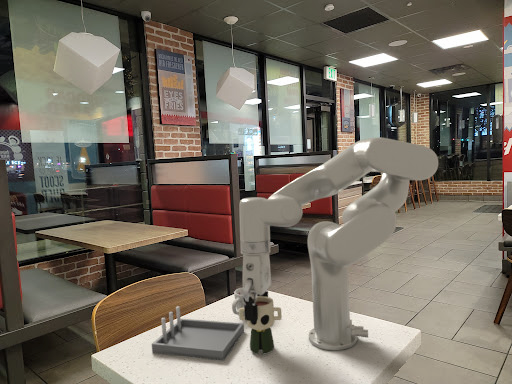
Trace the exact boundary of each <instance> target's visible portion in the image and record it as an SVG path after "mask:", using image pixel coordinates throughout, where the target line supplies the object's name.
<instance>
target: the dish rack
mask: <svg viewBox="0 0 512 384" xmlns="http://www.w3.org/2000/svg"><path fill="white" fill-rule="evenodd" d="M175 311H176V312H175V313H176V322H175V323H174V313H173V311H169V312H168V318H169V328H168V330H167V324H166V323H167V322H166V317H161V329H162V330H161V332H162V335H160V336H158V338H157V339H156V340H154V341H153V342H152V343H151V352H152V354H156V355H166V356H172V357H173V356H174V357H184V358H192V359H203V360H211V361H220V362H223V361H225V359H226V358H227V356H228V355H229V354H230V352H231V351H232V350H233V348H234V347H235V345H237V343H238V341H239V339H241V337H242V336H243V334H244V332H245V325H244V323H242V322H229V321H219V320H218V321H214V320H204V319H203V320H202V319H190V318H181V307H180V306H179V305H178V306H176V307H175Z"/></svg>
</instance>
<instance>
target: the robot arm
mask: <svg viewBox="0 0 512 384" xmlns="http://www.w3.org/2000/svg"><path fill="white" fill-rule="evenodd" d="M438 167H439V158H438V155H437V154H436V153H435V151H433V149H431V148H429V147H428V146H425V145H422V144H421V145H420V144H416V143H410V142H405V141H403V140H402V141H401V140H396V139H392V138H386V137H380V136H379V137H371V138H364V139H360V140H358V141H355V142H354V143H353V144H351V145H349V146H348V147H347V148H345V149H344V150H342V151H340V152H339V153H337V154H336V155H335V156H333V157H332V158H330V159H329V160H327V161H326V162H324V163H323V164H320V165H319V166H317V167H316V168H314V169H312V170H310V171H309V172H307V173H305V174H304V175H301V176H299V177H297V178H296V179H294V180H293V181H291V182H289V183H287V184H286V185H284V186H283V187H282V188H280V189H278V190H277V191H276V192H274V193H273V194H271V195H270V196H269V197H268V198H265V197H255V196H254V197H245V198H242V199H240V201H239V204H238V205H239V208H238V209H239V236H240V237H239V239H240V240H239V242H240V246H239V247H240V254H241V255H242V258H243V259H242V288H243V296H244V298H243V299H244V312H245V320H244V321H246V322H247V321H257V320H258V305H256V301H257V297H258V296H265V297H269V288H270V287H271V285H272V277H271V276H272V273H271V261H270V253H271V229H270V228H271V227H272V226H273V227H283V228H284V227H285V228H286V227H287V228H288V227H292V226H295V225H297V224H298V223H299V222H300V221H301V219H302V217H303V213H304V211H303V207H304V206H305V205H307V204H309V203H312V202H313V201H317V200H321V199H323V198H324V199H325V198H329V197H330V198H331V197H332V196H334V195H338V194H340V193H341V192H343V191H344V190H345V189H347V188H349V187H350V186H352V185H353V184H354V183H355V182H357V181H358V180H360V179H361V178H363V177H365V176H366V175H367V174H370V172H371V173H374V172H375V173H382V174H381V178H380V181H379V182H378V184H376V185H375V186H374V187H372V188H371V189H370V190H369V191H367V192H366V193H364V194H363V195H362V196H360V197H358V198H357V199H356V200H355V201H352V202H350V204H348V206H346V207H345V209H344V211H343V213H342V217H341V220H342V223H343V224H342V225H341V224H339V223H335V222H333V221H330V220H329V221H327V220H326V221H325V220H324V221H319V222H318V223H315V224H314V225H312V227H311V228H310V230H309V231H308V234H307V235H308V236H307V249H308V254H309V255H308V256H309V260H310V261H309V262H310V268H311V269H310V270H311V271H310V272H311V289H312V290H311V291H312V309H313V310H312V311H313V313H312V314H313V328H312V329H311V330H310V331H309V333H308V340H309V341H308V342H310V344H312V345H313V346H314V347H316V348H320V349H323V350H326V351H327V350H328V351H340V350H342V351H343V350H347V349H349V348H351V347H353V346H355V344H356V343H357V342H358V340H357V339H358V337H360V338H369V329H364V328H365V327H364V325H355V324H353V320H352V319H351V309H350V291H349V288H350V287H349V282H350V280H349V269H348V267H350V266H352V265H354V264H357V262H359V261H361V260H363V258H365V257H366V256H368V255H369V254H370V253H372V252H374V251H375V250H376V249H378V247H380V246H381V245H383V244H384V243H385V242H386V241H388V240H389V239H390V238H391V237H392V235H393V234H394V232H395V230H396V228H397V225H398V224H397V223H398V219H397V215H396V212H397V211H399V209H401V207H403V205H404V204H405V203H406V201H407V200H408V199H407V198H408V195H409V187H410V181H424V180H428V179H429V178H430V179H431V177H432V176H434V175H435V173H436V172H437V170H438ZM250 291H255V292H250ZM250 296H254V298H253V299H252V297H250Z"/></svg>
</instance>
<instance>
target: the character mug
mask: <svg viewBox="0 0 512 384" xmlns="http://www.w3.org/2000/svg"><path fill="white" fill-rule="evenodd" d="M253 298H254V297H252V299H253ZM256 305H258V320H257V321H247V320H245V317H243V311H244V308H239V315H238V317H239V320H241V321H246V325H247V326H248V327H249V329H251V330H250V339H249V349H250V351H251V353H253V354H257V355H259V354H260V351H262V355H266V354H269V353H271V352H272V351H273V350H274V348H275V343H274V337H273V333H272V328H271V327H273V326H274V323H275V321H280V320H282V308H281V307H279V306H277V307H274V300H273V298H271V297H269V296H268V297H265V296H258V297H257V301H256ZM275 312H277V316H275Z"/></svg>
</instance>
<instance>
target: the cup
mask: <svg viewBox="0 0 512 384" xmlns="http://www.w3.org/2000/svg"><path fill="white" fill-rule="evenodd" d="M250 292H255V291H250ZM233 293H234V294H233V295H234V300H233V302H232V304H231V309H232V314H234V315H238V316H239V308H244V299H243V298H244V296H243V287H239V288H236V289H235V291H233ZM250 297H254V296H250ZM243 317H245V312H244V311H243Z"/></svg>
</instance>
